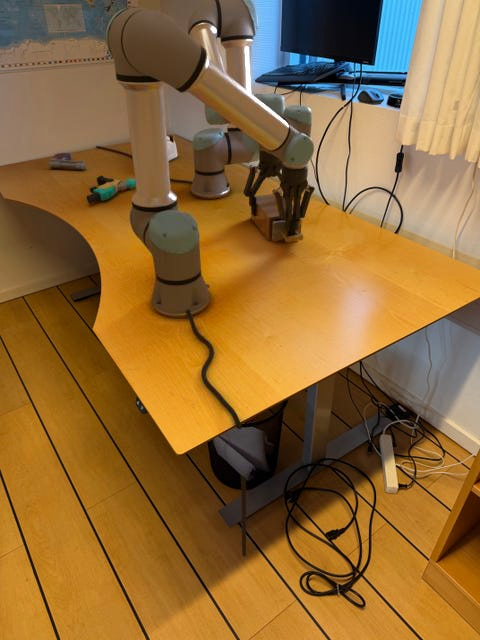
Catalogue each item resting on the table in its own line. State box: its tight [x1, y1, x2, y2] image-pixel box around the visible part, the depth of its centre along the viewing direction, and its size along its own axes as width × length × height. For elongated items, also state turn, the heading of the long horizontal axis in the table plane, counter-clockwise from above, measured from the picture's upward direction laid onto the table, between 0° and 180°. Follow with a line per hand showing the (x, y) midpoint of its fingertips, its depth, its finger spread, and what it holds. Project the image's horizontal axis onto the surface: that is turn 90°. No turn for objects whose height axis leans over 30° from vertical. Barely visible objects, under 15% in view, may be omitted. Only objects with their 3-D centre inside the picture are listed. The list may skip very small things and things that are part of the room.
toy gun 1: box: [47, 152, 87, 171], centre depth 216 cm, size 4×19×15 cm
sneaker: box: [166, 134, 179, 162], centre depth 214 cm, size 10×29×12 cm, turn 163°
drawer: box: [271, 217, 304, 243], centre depth 155 cm, size 23×10×6 cm, turn 17°
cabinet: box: [250, 193, 293, 241], centre depth 160 cm, size 18×11×8 cm, turn 17°
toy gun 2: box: [86, 175, 136, 204], centre depth 187 cm, size 4×26×15 cm
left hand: (290, 239), depth 150 cm, fingers closed
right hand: (269, 212), depth 164 cm, fingers closed on cabinet, 11 cm apart
